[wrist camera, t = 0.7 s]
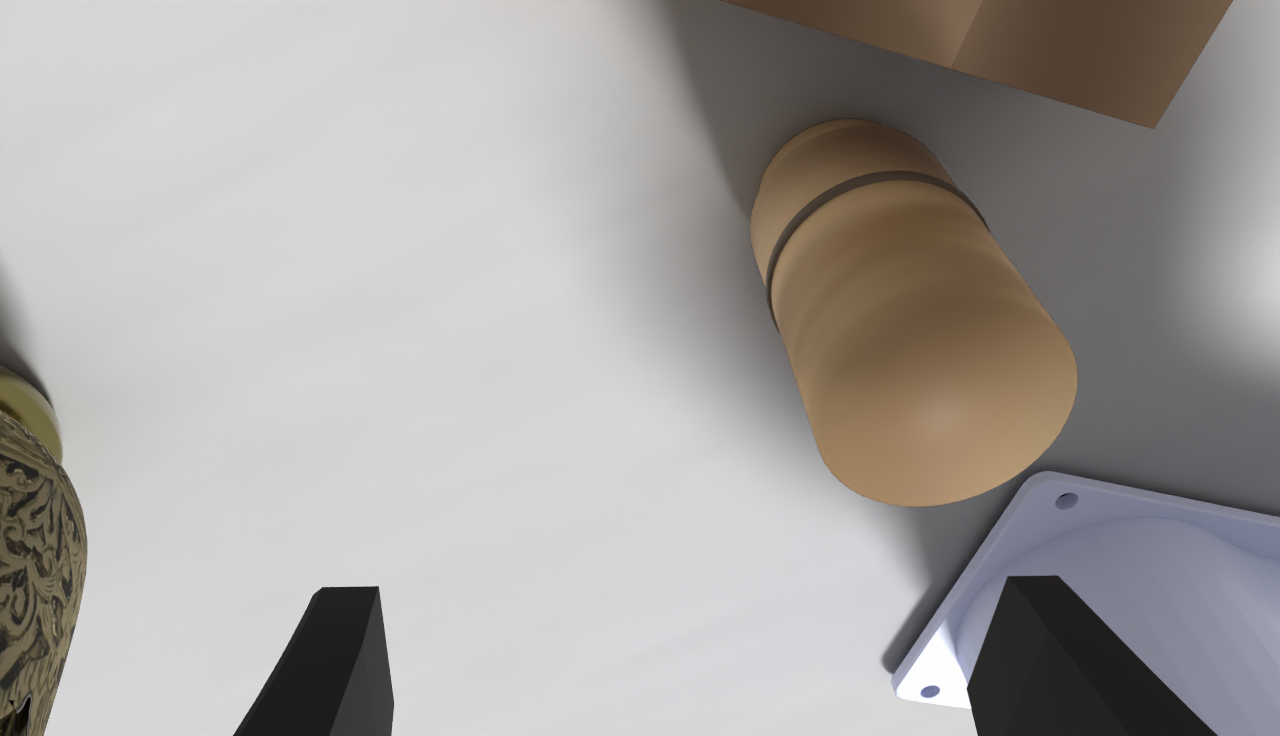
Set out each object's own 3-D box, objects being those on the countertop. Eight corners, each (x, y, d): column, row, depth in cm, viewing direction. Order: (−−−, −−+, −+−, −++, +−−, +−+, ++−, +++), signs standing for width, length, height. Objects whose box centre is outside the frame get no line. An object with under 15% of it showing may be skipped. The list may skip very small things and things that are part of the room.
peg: (970, 129, 19) (1134, 328, 14) (884, 298, 21) (999, 527, 16) (782, 76, 18) (881, 266, 13) (711, 257, 20) (770, 484, 15)
